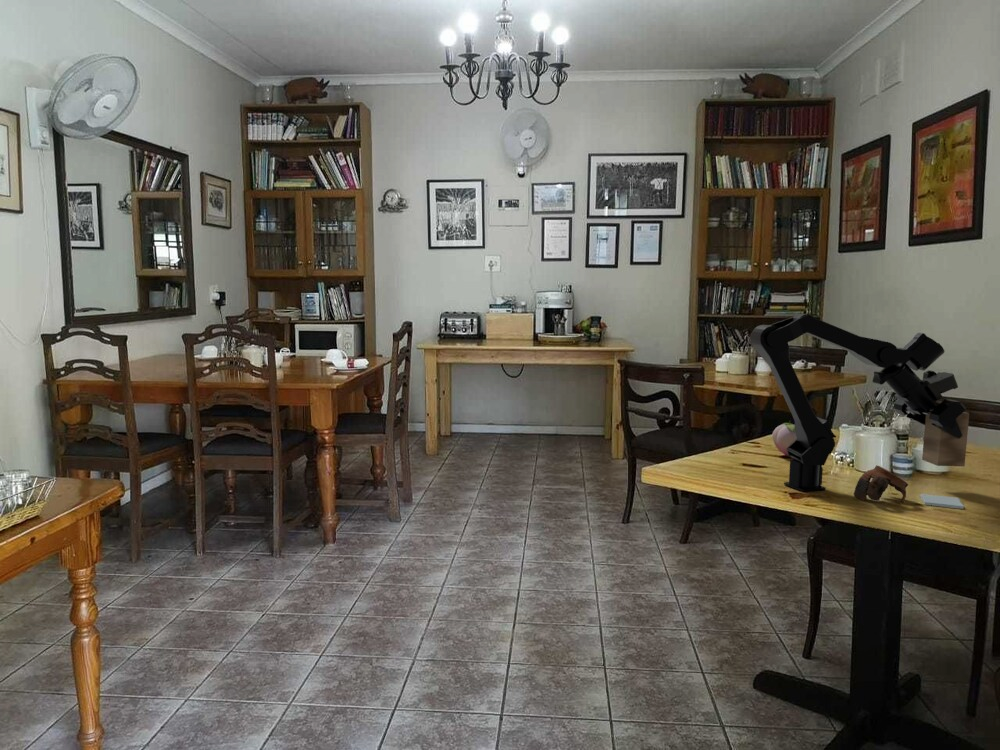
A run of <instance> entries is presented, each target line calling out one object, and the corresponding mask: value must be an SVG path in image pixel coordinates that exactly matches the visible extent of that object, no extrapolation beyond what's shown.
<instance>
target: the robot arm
mask: <svg viewBox="0 0 1000 750" xmlns="http://www.w3.org/2000/svg"><path fill="white" fill-rule="evenodd" d="M803 335H808V336H810V337H813V338H816V339H818V340H821V341H823V342H825V343H828V344H830V345H832V346H835V347H838V348H839V349H840V348H841V349H842V350H845V351H847V352H848V353H849V354H850V355H852V356H853V357H855V358H856V359H858V360H859V361H861V362H862V363H863V364H865V365H867V366H870V367H871V366H873V367H878V368H882V369H881V370H879V371H876V370H875V371H873V377H872V383H873V384H877V385H884V384H885V383H886V384H887V385H888V386H889V387H890V389H891V390H892V391H894V393H895V394H894V397H895V398H896V399H897V400H896V401H895V402H894V403H893V409H894V411H895V412H896V413H897V414H898V415H900V416H904V417H906V418H907V419H909V420H912V421H914V422H916V423H918V424H920V425H923V426H925V420H926V414H929V413H930V415H929V419H930V420H931V421H932V422H933V423H932V424H931V425H933V426H935V427H937V428H939V429H941V430H943V431H944V432H946V433H948V434H950V435H952V436H954V437H956V438H958V439H959V438H961V437H962V433H961V430H960V428H959V425H958V423H957V420H956V418H957V417H958V416H960V415H961V414H962V413H963V412H966V410H967V408H966V406H965V405H964V404H963V403H962V402H961V401H959V400H954V399H948V398H946V399H943V401H941V402H937V401H940V400H941V399H942V398H943V397H944V396H943V394H944V393H947V392H949V391H951V390H956V389H958V388H959V385H958V382H957V379H956V377H955V375H954V373H952V372H941V371H940V372H937V373H936V372H935V371H934V370H929V369H928V368H929V367H930V366H931V365H932V364H934V362H936V361H937V360H938V359H939V358H940V357H941V356H943V355H944V353H945V351H946V350H945V349H944V347H943V346H942V345H941V344H940V343H939V342H937V341H936V340H934V339H933V338H931V337H929V336H927V334H926V333H923V332H917V333H916V334H915V335H914V336H913V338H912V339H911V340H910V341H908V343H906V344H905V345H904V346H903V347H897V346H896V345H895V344H894V343H892V342H889V341H885V340H880V339H875V338H870V337H864V336H860V335H858V334H855V333H853V332H850V331H848V330H846V329H844V328H840V327H838V326H835V325H834V324H831V323H828V322H826V321H823V320H821V319H818V318H816V317H814V316H813V315H812V314H808V313H798V314H796V315H794V316H791V317H790V318H789V317H788V318H785V319H783V320H780V321H777V322H775V323H774V322H773V323H772V324H760V325H758V326H756V327H754V329H753V330H752V331H751V333H750V336H749V339H750V343H751V345H752V346H753V348H754V349H755V351H756V352H757V353H758V355H759V356H760V357H761V358H762V360H763V361H764V362H766V364H767V365H768V366H769V368H770V370H771V373H772V374H773V377H774V379H775V381H776V382H777V385H778V387H779V389H780V392H781V394H782V396H783V398H784V400H785V402H786V404H787V407H788V409H789V411H790V413H791V416H792V418H793V420H794V425H795V434H796V437H797V439H796V440H795V441H794V442H793V443H792V444H791V445H790V446H788V447H787V452H788V456H787V457H789V458H792V459H789V474H788V481H786V482H783V485H785V486H787V487H790V488H792V489H795V490H798V491H800V492H813V491H824V490H826V489H827V487H826V486H824V485H823V471H824V468H823V467H822V466H825V465H826V462H827V460H828V458H829V456H830V455H831V454H832V452H833V451H834V449H835V447H836V441H835V438H836V437H837V435H835V434H834V433H833V430H832V427H831V424H830V422H829V420H827V419H823V418H821V417H819V416H816V414H815V412H814V410H813V407H812V406H811V404H810V401H809V399H808V397H807V395H806V393H805V391H804V388H803V386H802V384H801V382H800V380H799V378H798V375H797V373H796V370H795V369H794V366H793V364H792V362H791V359H790V346H789V343H790V342H792V341H794V340H796V339H798V338H799V337H801V336H803ZM927 369H928V370H927ZM919 370H920V371H923V373H922V374H923V375H922V379H920V377H919V376H918V375H917V374H916V373H915V372H914V371H916V372H917V371H919Z"/></svg>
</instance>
